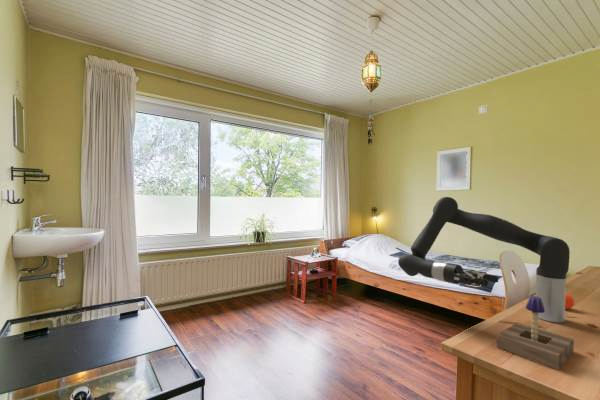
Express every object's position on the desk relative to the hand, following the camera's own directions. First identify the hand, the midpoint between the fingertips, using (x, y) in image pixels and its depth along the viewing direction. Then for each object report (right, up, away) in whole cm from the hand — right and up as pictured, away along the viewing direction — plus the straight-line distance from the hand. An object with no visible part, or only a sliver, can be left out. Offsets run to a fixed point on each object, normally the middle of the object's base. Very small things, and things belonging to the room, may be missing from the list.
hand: (493, 281), depth 103 cm
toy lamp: (+6, -19, -10) cm, 22 cm away
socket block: (+7, -19, -10) cm, 22 cm away
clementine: (+52, -21, +30) cm, 63 cm away
